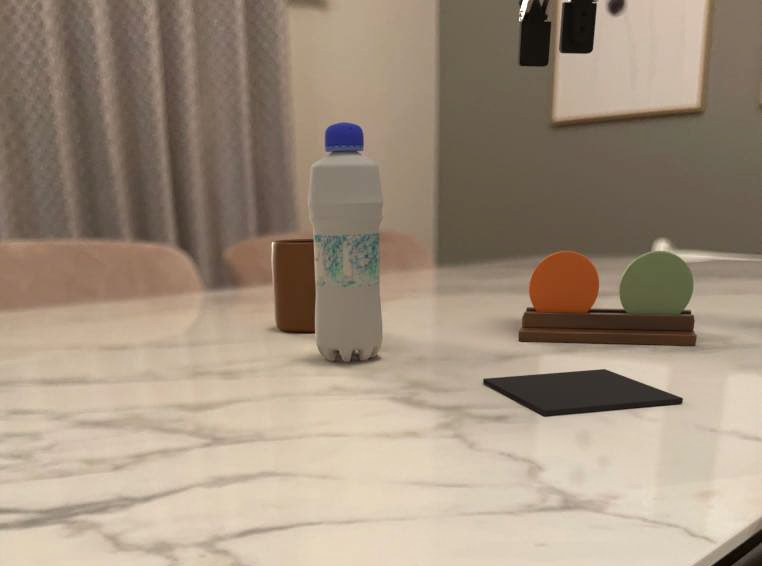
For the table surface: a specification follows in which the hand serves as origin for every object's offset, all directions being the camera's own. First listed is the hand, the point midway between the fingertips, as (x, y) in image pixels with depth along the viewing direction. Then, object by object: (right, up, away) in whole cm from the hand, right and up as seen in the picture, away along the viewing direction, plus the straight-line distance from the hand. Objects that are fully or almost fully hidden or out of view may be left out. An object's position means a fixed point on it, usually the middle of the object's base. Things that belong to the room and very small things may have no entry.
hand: (553, 59), depth 83 cm
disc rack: (+6, -26, +5) cm, 27 cm away
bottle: (-20, -30, -3) cm, 36 cm away
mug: (-23, -23, +13) cm, 35 cm away
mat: (-2, -36, -18) cm, 40 cm away
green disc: (+11, -25, +3) cm, 28 cm away
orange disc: (+2, -24, +6) cm, 25 cm away
